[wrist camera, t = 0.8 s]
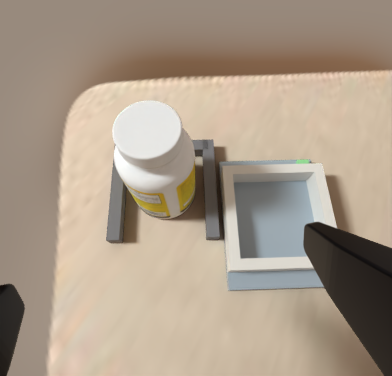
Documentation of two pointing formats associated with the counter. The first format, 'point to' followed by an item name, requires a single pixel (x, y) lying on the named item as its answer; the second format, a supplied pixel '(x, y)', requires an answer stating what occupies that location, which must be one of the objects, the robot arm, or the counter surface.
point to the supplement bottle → (155, 158)
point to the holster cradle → (210, 195)
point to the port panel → (271, 221)
